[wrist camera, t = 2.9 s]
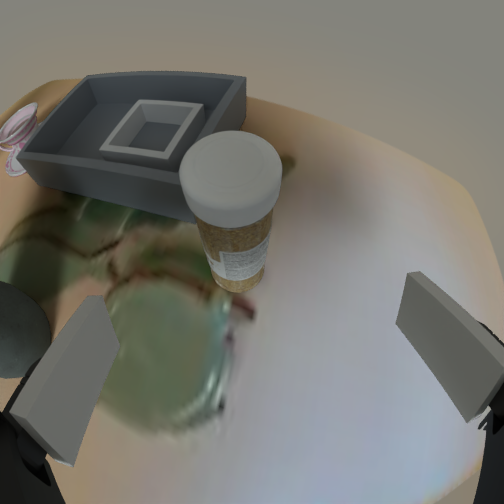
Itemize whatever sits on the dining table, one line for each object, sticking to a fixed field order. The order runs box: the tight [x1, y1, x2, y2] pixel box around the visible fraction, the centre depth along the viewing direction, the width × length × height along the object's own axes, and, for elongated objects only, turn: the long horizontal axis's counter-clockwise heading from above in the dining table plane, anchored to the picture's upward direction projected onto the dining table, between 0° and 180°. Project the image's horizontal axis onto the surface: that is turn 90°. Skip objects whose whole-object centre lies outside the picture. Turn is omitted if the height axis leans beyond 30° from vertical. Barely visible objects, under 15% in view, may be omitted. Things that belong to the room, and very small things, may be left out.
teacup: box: [0, 102, 42, 176], centre depth 28 cm, size 12×12×6 cm
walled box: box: [16, 71, 246, 224], centre depth 27 cm, size 24×16×6 cm, turn 74°
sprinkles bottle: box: [179, 131, 282, 293], centre depth 18 cm, size 5×5×14 cm
